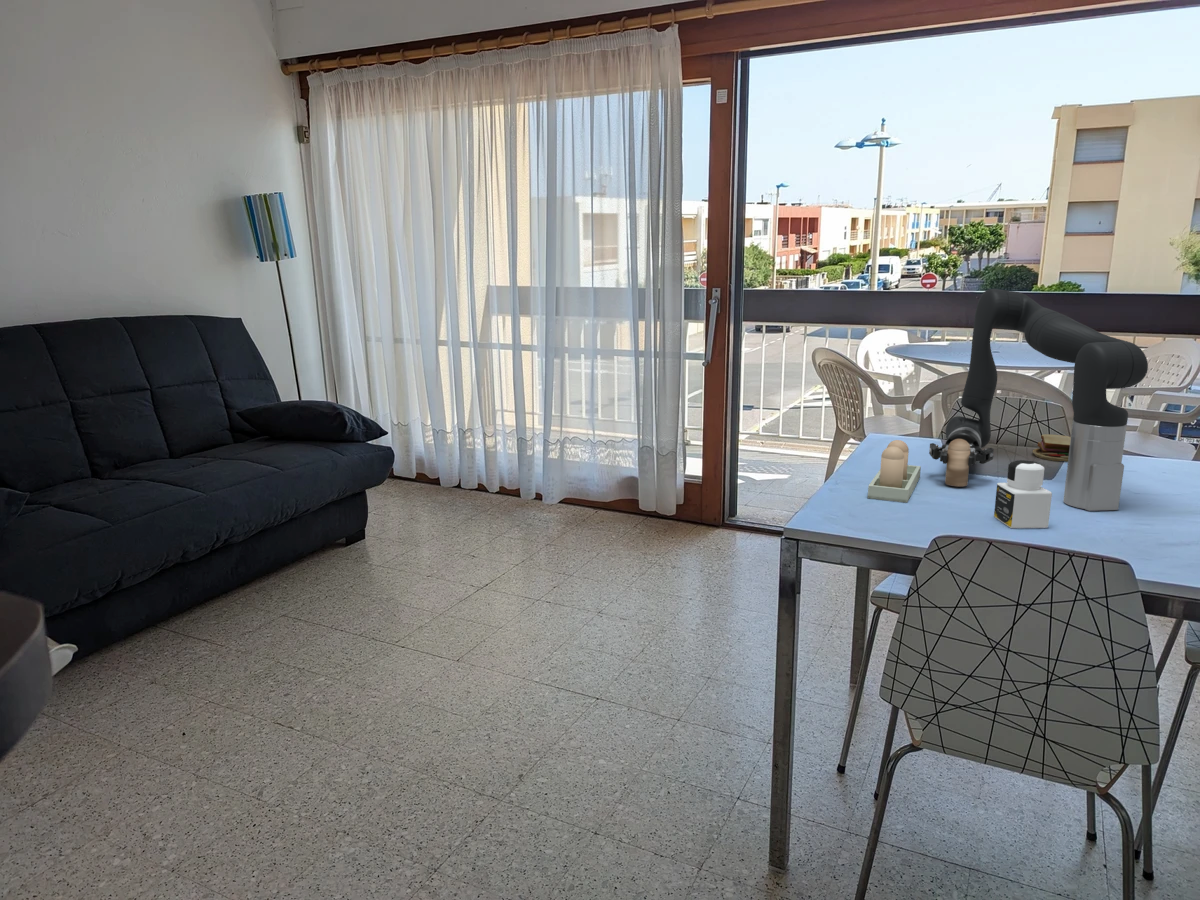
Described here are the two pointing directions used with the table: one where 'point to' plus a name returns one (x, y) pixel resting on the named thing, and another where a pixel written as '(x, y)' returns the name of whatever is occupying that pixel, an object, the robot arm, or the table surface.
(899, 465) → the compartment tray
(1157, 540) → the table surface
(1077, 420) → the robot arm
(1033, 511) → the medicine bottle
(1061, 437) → the toy sandwich meal
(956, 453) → the round-topped wooden peg
